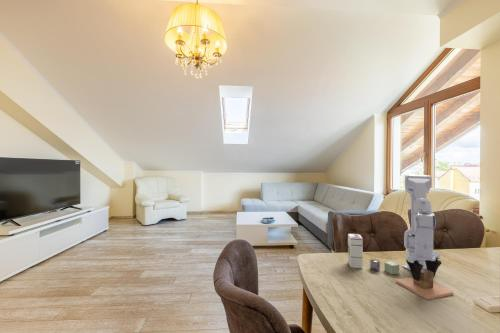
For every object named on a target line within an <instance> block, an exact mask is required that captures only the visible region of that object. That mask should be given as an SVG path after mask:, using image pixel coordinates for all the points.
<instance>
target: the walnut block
mask: <svg viewBox="0 0 500 333" xmlns="http://www.w3.org/2000/svg"><path fill="white" fill-rule="evenodd" d="M433 274H434V272H432V271H429V270H427V269H425V268H422V270H421V273H420V280H419V281H417V280H415V279H413V284H415V285H417V286H419V287H421V288H423V289H429V288H433V283H434V278H433Z"/></svg>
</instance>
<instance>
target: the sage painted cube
mask: <svg viewBox="0 0 500 333" xmlns="http://www.w3.org/2000/svg"><path fill="white" fill-rule="evenodd" d="M383 271H384V272H386V273H389V275H397V274H400V264H398V263H396V262H394V261H384V270H383Z"/></svg>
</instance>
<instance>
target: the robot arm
mask: <svg viewBox="0 0 500 333" xmlns="http://www.w3.org/2000/svg"><path fill="white" fill-rule="evenodd" d="M431 187H432V176H431V175H430V174H428V175H427V174H408V173H407V174H406V175H405V176H404V190H405V192H406V193H407V194H409V195H410V196H409V197H410V210H411V211H410V219H411V220H410V222H411V223H410V224H411V225H410V228H408V229H407V230H405V231H404V235H403V236H404V237H403V244H404V245H403V246H404V248H405V249H407V256H406V259H405V262H406V264H405V265H402V268H405V269H407V270H409V271H410V273H411V275H412V277H413V279H415V280H417V281H419V280H420V273H421V270H422V268H425V269H427V270H429V271H432V272H434V274H433V279H434V278H435V276H436V274H437V272H438V270H439V268H440V266H441V265H442V260H440V259H441V255H440V254H439V253H436V252H434V230H435V229H436V228H437V227H436V226H437V220H436V214H434V212H433V210H432V206H431V201H429V200H428V199H427V194H428V193H429V192H430V191H431Z"/></svg>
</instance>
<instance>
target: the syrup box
mask: <svg viewBox="0 0 500 333" xmlns="http://www.w3.org/2000/svg"><path fill="white" fill-rule="evenodd" d="M363 240H364V239H363V237H362V235H361V234H359V233H348V234H347V263H348V265H349V267H350V268H354V269H363V266H364V265H363V264H364V261H363V260H364V259H363V258H364V254H363V252H364V249H363V246H364V245H363V243H364V241H363Z"/></svg>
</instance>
